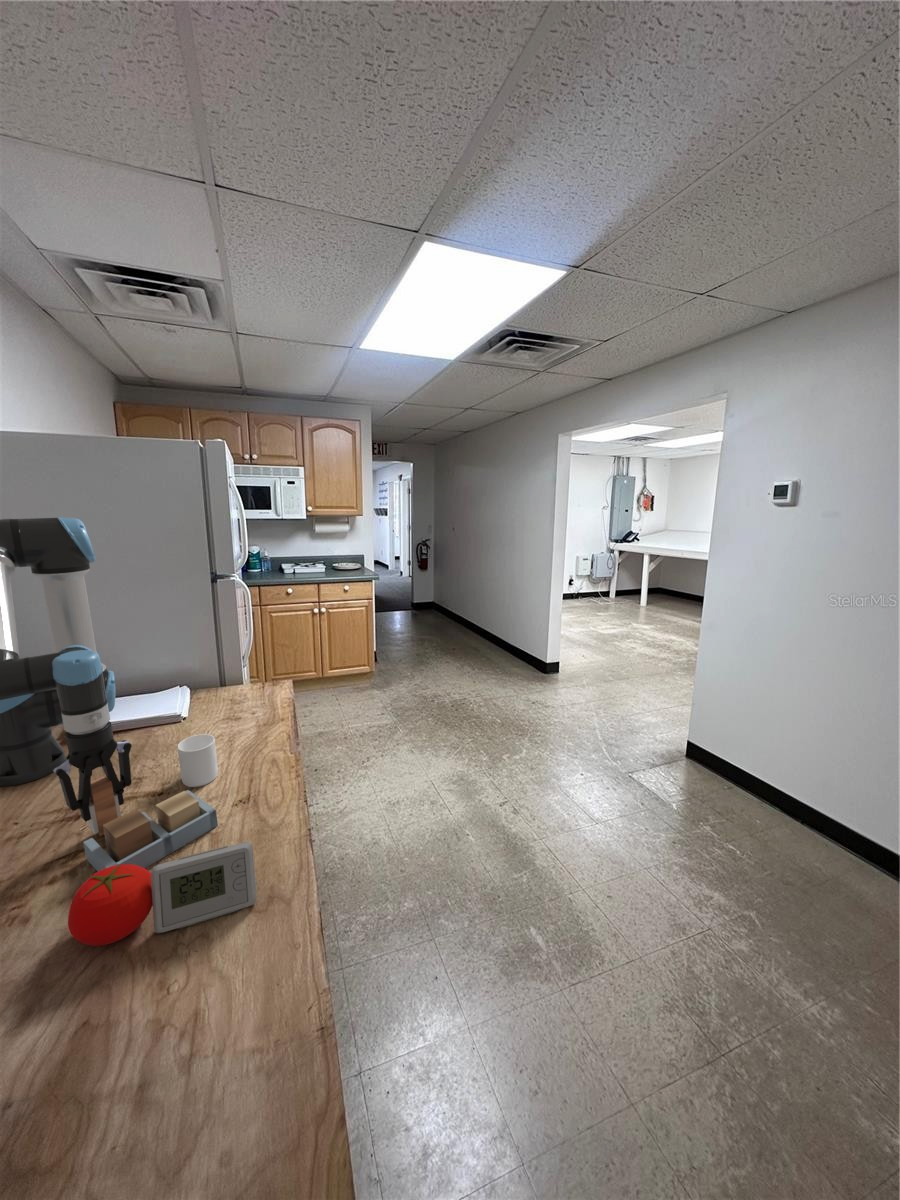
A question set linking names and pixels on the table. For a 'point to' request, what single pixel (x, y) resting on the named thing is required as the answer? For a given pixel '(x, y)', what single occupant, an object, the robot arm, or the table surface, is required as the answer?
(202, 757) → the cup
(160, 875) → the digital clock
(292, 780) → the table surface
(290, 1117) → the table surface
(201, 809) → the lane shelf
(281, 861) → the table surface
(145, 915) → the tomato
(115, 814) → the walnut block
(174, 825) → the oak block
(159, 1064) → the table surface
